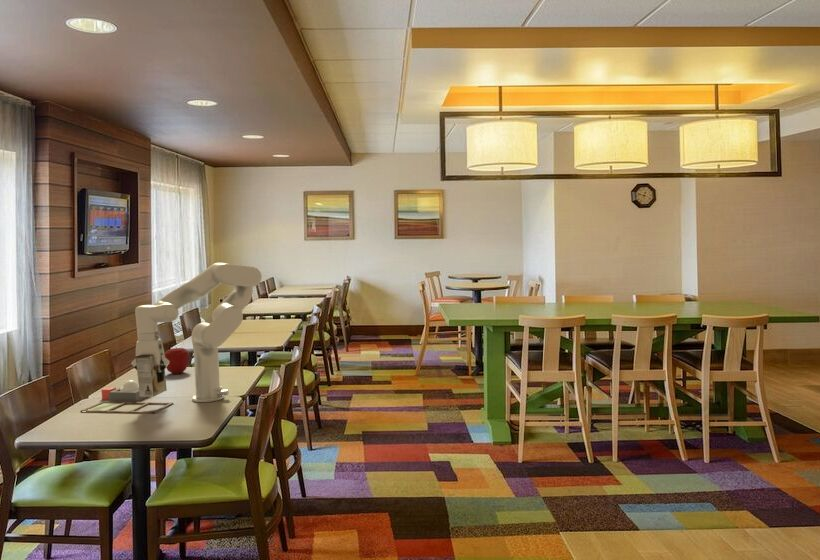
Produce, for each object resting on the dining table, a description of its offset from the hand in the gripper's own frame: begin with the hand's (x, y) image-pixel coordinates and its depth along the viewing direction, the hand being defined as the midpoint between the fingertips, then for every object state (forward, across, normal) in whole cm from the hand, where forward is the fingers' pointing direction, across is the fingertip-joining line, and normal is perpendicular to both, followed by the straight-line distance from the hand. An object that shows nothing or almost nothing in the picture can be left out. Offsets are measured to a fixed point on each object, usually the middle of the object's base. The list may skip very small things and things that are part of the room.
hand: (152, 381), depth 257 cm
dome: (+9, +19, -14) cm, 25 cm away
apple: (+12, +25, -63) cm, 69 cm away
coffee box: (+5, 0, 0) cm, 5 cm away
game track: (+10, +11, +1) cm, 15 cm away
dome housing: (+11, +19, -14) cm, 26 cm away
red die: (+10, +29, -14) cm, 34 cm away
